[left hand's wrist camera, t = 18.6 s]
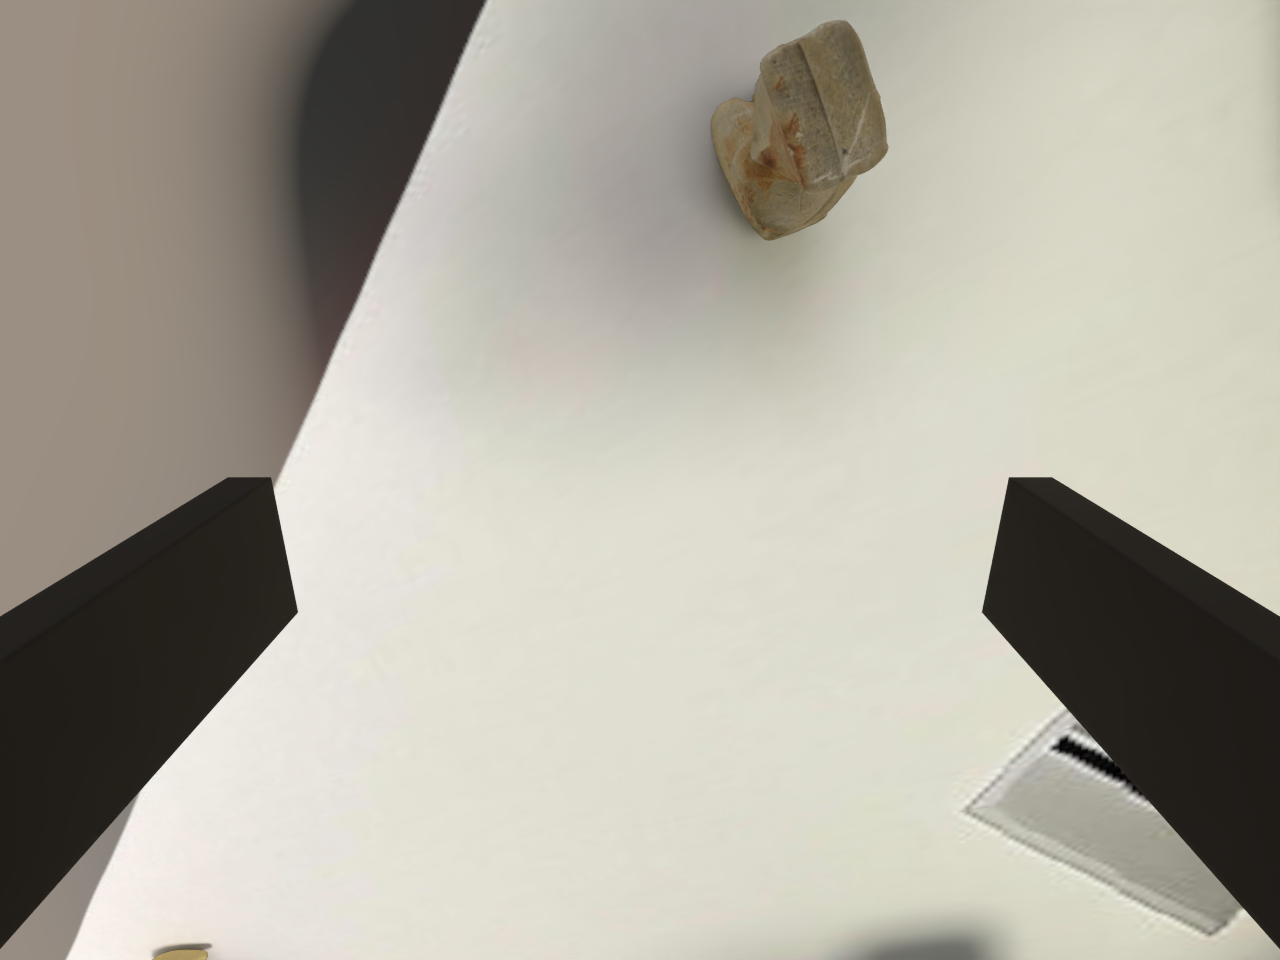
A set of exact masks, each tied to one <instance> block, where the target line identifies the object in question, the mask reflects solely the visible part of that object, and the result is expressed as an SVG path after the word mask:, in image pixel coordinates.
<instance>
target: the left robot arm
mask: <svg viewBox="0 0 1280 960" xmlns="http://www.w3.org/2000/svg"><path fill="white" fill-rule="evenodd" d="M297 613H298V610H297V605H296V600H295V595H294V590H293V585H292V580H291V575H290V570H289V565H288V560H287V555H286V550H285V545H284V540H283V535H282V530H281V525H280V520H279V515H278V510H277V505H276V500H275V495H274V490H273V485H272V480H271V477H228V478H226V479H225V480H223V481H221V482H220V483H218V484H216V485H215V486H213V487H211V488H210V489H208V490H207V491H205V492H203V493H202V494H200V495H198V496H197V497H195V498H193V499H192V500H190V501H189V502H187V503H185V504H184V505H182V506H180V507H179V508H177V509H175V510H174V511H172V512H171V513H169V514H167V515H166V516H164V517H162V518H161V519H159V520H157V521H156V522H154V523H153V524H151V525H149V526H148V527H146V528H144V529H143V530H141V531H139V532H138V533H136V534H135V535H133V536H131V537H130V538H128V539H126V540H125V541H123V542H121V543H120V544H118V545H117V546H115V547H113V548H112V549H110V550H108V551H107V552H105V553H103V554H102V555H100V556H99V557H97V558H95V559H94V560H92V561H90V562H89V563H87V564H85V565H84V566H82V567H81V568H79V569H77V570H76V571H74V572H72V573H71V574H69V575H67V576H66V577H64V578H62V579H61V580H59V581H58V582H56V583H54V584H53V585H51V586H49V587H48V588H46V589H45V590H43V591H41V592H40V593H38V594H36V595H35V596H33V597H31V598H30V599H28V600H27V601H25V602H23V603H22V604H20V605H18V606H17V607H15V608H13V609H12V610H10V611H8V612H7V613H5V614H4V615H2V616H0V948H1V947H2V946H3V945H4V944H5V943H6V942H7V941H8V940H9V938H10V937H11V936H12V935H13V934H14V933H15V932H16V930H17V929H18V928H19V927H20V926H21V925H22V924H23V923H24V921H25V920H26V919H27V918H28V917H29V916H30V915H31V914H32V912H33V911H34V910H35V909H36V908H37V907H38V906H39V905H40V903H41V902H42V901H43V900H44V899H45V898H46V897H47V895H48V894H49V893H50V892H51V891H52V890H53V889H54V888H55V886H56V885H57V884H58V883H59V882H60V881H61V880H62V878H63V877H64V876H65V875H66V874H67V873H68V872H69V871H70V869H71V868H72V867H73V866H74V865H75V864H76V863H77V862H78V860H79V859H80V858H81V857H82V856H83V855H84V854H85V852H86V851H87V850H88V849H89V848H90V847H91V846H92V845H93V843H94V842H95V841H96V840H97V839H98V838H99V837H100V836H101V834H102V833H103V832H104V831H105V830H106V829H107V828H108V826H109V825H110V824H111V823H112V822H113V821H114V820H115V819H116V817H117V816H118V815H119V814H120V813H121V812H122V811H123V809H124V808H125V807H126V806H127V805H128V804H129V803H130V802H131V800H132V799H133V798H134V797H135V796H136V795H137V794H138V793H139V791H140V790H141V789H142V788H143V787H144V786H145V785H146V784H147V782H148V781H149V780H150V779H151V778H152V777H153V776H154V775H155V773H156V772H157V771H158V770H159V769H160V768H161V767H162V765H163V764H164V763H165V762H166V761H167V760H168V759H169V758H170V756H171V755H172V754H173V753H174V752H175V751H176V750H177V749H178V747H179V746H180V745H181V744H182V743H183V742H184V741H185V739H186V738H187V737H188V736H189V735H190V734H191V733H192V732H193V730H194V729H195V728H196V727H197V726H198V725H199V724H200V723H201V721H202V720H203V719H204V718H205V717H206V716H207V715H208V713H209V712H210V711H211V710H212V709H213V708H214V707H215V706H216V704H217V703H218V702H219V701H220V700H221V699H222V698H223V697H224V695H225V694H226V693H227V692H228V691H229V690H230V689H231V687H232V686H233V685H234V684H235V683H236V682H237V681H238V680H239V678H240V677H241V676H242V675H243V674H244V673H245V672H246V671H247V669H248V668H249V667H250V666H251V665H252V664H253V663H254V661H255V660H256V659H257V658H258V657H259V656H260V655H261V654H262V652H263V651H264V650H265V649H266V648H267V647H268V646H269V645H270V643H271V642H272V641H273V640H274V639H275V638H276V637H277V635H278V634H279V633H280V632H281V631H282V630H283V629H284V628H285V626H286V625H287V624H288V623H289V622H290V621H291V620H292V619H293V617H294V616H295V615H296V614H297ZM982 613H983V614H984V615H985V616H986V617H987V619H988V620H989V621H990V622H991V623H992V624H993V625H994V626H995V628H996V629H997V630H998V631H999V632H1000V633H1001V634H1002V635H1003V637H1004V638H1005V639H1006V640H1007V641H1008V642H1009V643H1010V645H1011V646H1012V647H1013V648H1014V649H1015V650H1016V651H1017V652H1018V654H1019V655H1020V656H1021V657H1022V658H1023V659H1024V660H1025V661H1026V663H1027V664H1028V665H1029V666H1030V667H1031V668H1032V669H1033V671H1034V672H1035V673H1036V674H1037V675H1038V676H1039V677H1040V678H1041V680H1042V681H1043V682H1044V683H1045V684H1046V685H1047V686H1048V687H1049V689H1050V690H1051V691H1052V692H1053V693H1054V694H1055V695H1056V697H1057V698H1058V699H1059V700H1060V701H1061V702H1062V703H1063V704H1064V706H1065V707H1066V708H1067V709H1068V710H1069V711H1070V712H1071V713H1072V715H1073V716H1074V717H1075V718H1076V719H1077V720H1078V721H1079V723H1080V724H1081V725H1082V726H1083V727H1084V728H1085V729H1086V730H1087V732H1088V733H1089V734H1090V735H1091V736H1092V737H1093V738H1094V739H1095V741H1096V742H1097V743H1098V744H1099V745H1100V746H1101V747H1102V749H1103V750H1104V751H1105V752H1106V753H1107V754H1108V755H1109V756H1110V758H1111V759H1112V760H1113V761H1114V762H1115V763H1116V764H1117V765H1118V767H1119V768H1120V769H1121V770H1122V771H1123V772H1124V773H1125V775H1126V776H1127V777H1128V778H1129V779H1130V780H1131V781H1132V782H1133V784H1134V785H1135V786H1136V787H1137V788H1138V789H1139V790H1140V791H1141V793H1142V794H1143V795H1144V796H1145V797H1146V798H1147V799H1148V801H1149V802H1150V803H1151V804H1152V805H1153V806H1154V807H1155V808H1156V810H1157V811H1158V812H1159V813H1160V814H1161V815H1162V816H1163V817H1164V819H1165V820H1166V821H1167V822H1168V823H1169V824H1170V825H1171V827H1172V828H1173V829H1174V830H1175V831H1176V832H1177V833H1178V834H1179V836H1180V837H1181V838H1182V839H1183V840H1184V841H1185V842H1186V843H1187V845H1188V846H1189V847H1190V848H1191V849H1192V850H1193V851H1194V853H1195V854H1196V855H1197V856H1198V857H1199V858H1200V859H1201V860H1202V862H1203V863H1204V864H1205V865H1206V866H1207V867H1208V868H1209V869H1210V871H1211V872H1212V873H1213V874H1214V875H1215V876H1216V877H1217V879H1218V880H1219V881H1220V882H1221V883H1222V884H1223V885H1224V886H1225V888H1226V889H1227V890H1228V891H1229V892H1230V893H1231V894H1232V895H1233V897H1234V898H1235V899H1236V900H1237V901H1238V902H1239V903H1240V905H1241V906H1242V907H1243V908H1244V909H1245V910H1246V911H1247V912H1248V914H1249V915H1250V916H1251V917H1252V918H1253V919H1254V920H1255V921H1256V923H1257V924H1258V925H1259V926H1260V927H1261V928H1262V929H1263V931H1264V932H1265V933H1266V934H1267V935H1268V936H1269V937H1270V938H1271V940H1272V941H1273V942H1274V943H1275V944H1276V945H1277V946H1278V947H1279V949H1280V616H1278V615H1276V614H1275V613H1273V612H1272V611H1270V610H1268V609H1267V608H1265V607H1263V606H1262V605H1260V604H1258V603H1257V602H1255V601H1254V600H1252V599H1250V598H1249V597H1247V596H1245V595H1244V594H1242V593H1240V592H1239V591H1237V590H1236V589H1234V588H1232V587H1231V586H1229V585H1227V584H1226V583H1224V582H1222V581H1221V580H1219V579H1218V578H1216V577H1214V576H1213V575H1211V574H1209V573H1208V572H1206V571H1204V570H1203V569H1201V568H1199V567H1198V566H1196V565H1195V564H1193V563H1191V562H1190V561H1188V560H1186V559H1185V558H1183V557H1181V556H1180V555H1178V554H1177V553H1175V552H1173V551H1172V550H1170V549H1168V548H1167V547H1165V546H1163V545H1162V544H1160V543H1159V542H1157V541H1155V540H1154V539H1152V538H1150V537H1149V536H1147V535H1145V534H1144V533H1142V532H1141V531H1139V530H1137V529H1136V528H1134V527H1132V526H1131V525H1129V524H1127V523H1126V522H1124V521H1123V520H1121V519H1119V518H1118V517H1116V516H1114V515H1113V514H1111V513H1109V512H1108V511H1106V510H1105V509H1103V508H1101V507H1100V506H1098V505H1096V504H1095V503H1093V502H1091V501H1090V500H1088V499H1087V498H1085V497H1083V496H1082V495H1080V494H1078V493H1077V492H1075V491H1073V490H1072V489H1070V488H1069V487H1067V486H1065V485H1064V484H1062V483H1060V482H1059V481H1057V480H1055V479H1054V478H1052V477H1009V480H1008V485H1007V490H1006V495H1005V500H1004V505H1003V510H1002V515H1001V520H1000V525H999V530H998V535H997V540H996V545H995V550H994V555H993V560H992V565H991V570H990V575H989V580H988V585H987V590H986V595H985V600H984V605H983V610H982Z"/></svg>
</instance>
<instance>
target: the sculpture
mask: <svg viewBox="0 0 1280 960" xmlns="http://www.w3.org/2000/svg"><path fill="white" fill-rule="evenodd" d="M760 70H761V74H760V76H759V78H758V80H757V83H756V86H755V93H754V94H753V98H752V101H751V102H745V101H743V100H741V99H739V98H733V99H731V100H729V101H726V102H724V103H722V104H721V105H720V106H719V107H718V108H717V110H716V111H715V113H714V115H713V117H712V121H711V134H712V140H713V144H714V148H715V151H716V154H717V157H718V160H719V163H720V166H721V168H722V170H723V172H724V175H725V177H726V179H727V181H728V183H729V185H730V187H731V189H732V191H733V193H734V195H735V198H736V200H737V201H738V203H739V205H740V207H741V209H742V211H743V213H744V215H745V217H746V218H747V220H748V222H749V223H750V224H751V226H752V227H753V228H754V229H755V230H756V231H757V233H758V234H759V235H760V236H761V237H762V238H764V239H765V240H774V239H777V238H780V237H783V236H786V235H789V234H792V233H795V232H797V231H799V230H801V229H804V228H806V227H808V226H811V225H813V224H815V223H817V222H819V221H821V220H822V219H824V218H825V217H826V215H827V212H828V211H830V209H831V208H832V207H833V206H834V205H835V204H836V203H837V202H838V201H839V199H840V198H841V197H842V196H843V195H844V193H845V192H846V191H847V190H848V189H849V187H850V186H851V185H852V183H853V182H854V180H855V179H856V177H857V175H859V174H862V173H865V172H866V171H868V170H870V169H871V168H873V167H874V166H876V165H877V164H878V163H879V162H880V161H881V159H882V158H883V157H884V156H885V154H886V153H887V151H888V145H887V139H886V124H885V118H884V114H883V109H882V106H881V102H880V95H879V93H878V91H877V90H876V87H875V84H874V81H873V78H872V76H871V72H870V69H869V66H868V62H867V59H866V56H865V52H864V49H863V46H862V44H861V41H860V39H859V37H858V35H857V33H856V32H855V31H854V29H853V28H852V26H851V25H850V24H849V23H848V22H847V21H845V20H836V21H830V22H826V23H824V24H821V25H819V26H818V27H817V28H815V29H814V30H813V31H811V32H810V33H808V34H807V35H805V36H803V37H801V38H799V39H796V40H794V41H792V42H789V43H787V44H782V45H780V46H778V47H777V48H776V49H774V50H773V51H771V52H770V53H768V54H767V55H766V56H765V57H764V58H763V59H762V61H761V63H760Z"/></svg>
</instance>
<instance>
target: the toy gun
mask: <svg viewBox="0 0 1280 960" xmlns="http://www.w3.org/2000/svg"><path fill="white" fill-rule="evenodd" d="M207 957H208V953H207V952H206V951H204V950H175V951H170V952H166V953H163V954H160V955H158V956H157V957H155V958H154V959H153V960H206V959H207Z"/></svg>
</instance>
